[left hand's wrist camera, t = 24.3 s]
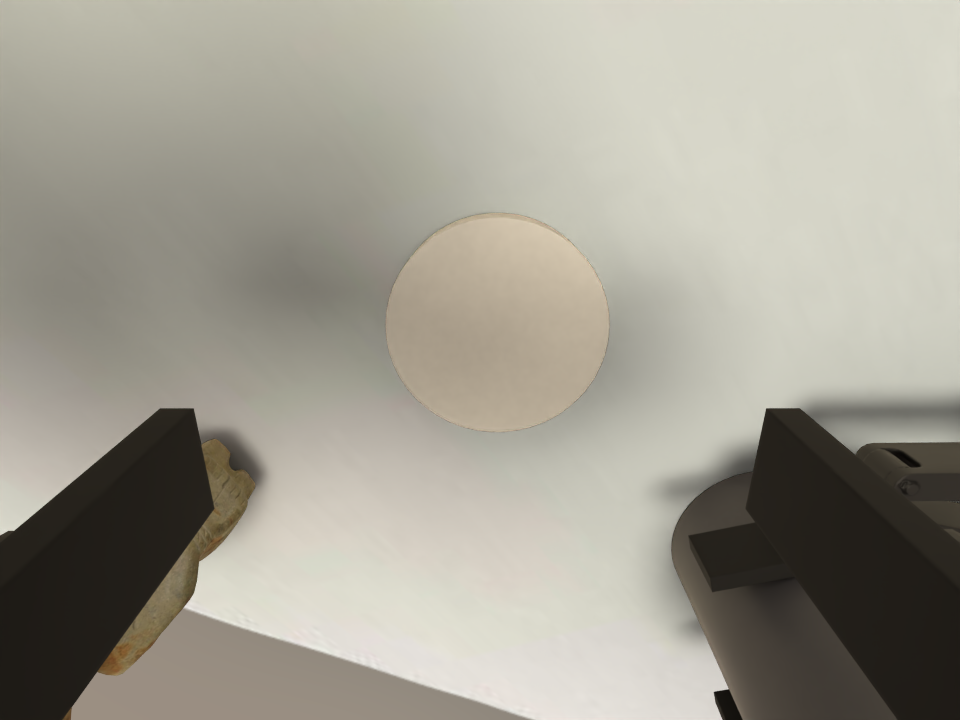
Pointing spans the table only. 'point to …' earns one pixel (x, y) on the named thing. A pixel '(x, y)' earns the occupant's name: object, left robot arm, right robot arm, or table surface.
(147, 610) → the sculpture
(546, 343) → the lid
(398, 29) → the table surface
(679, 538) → the jar
